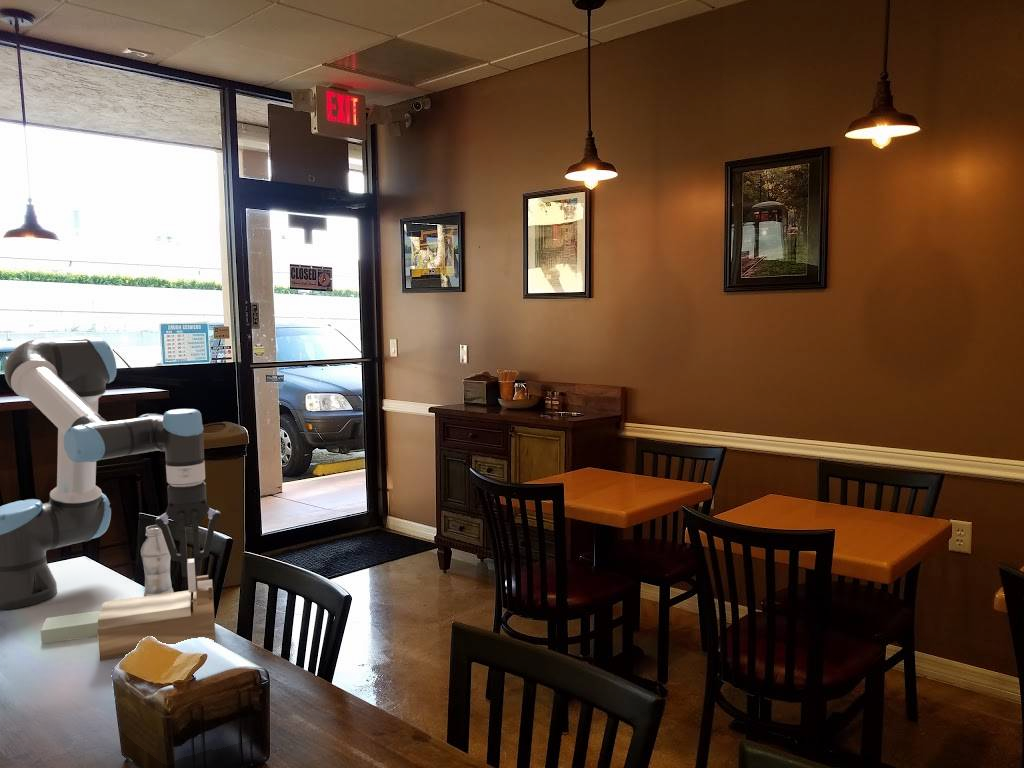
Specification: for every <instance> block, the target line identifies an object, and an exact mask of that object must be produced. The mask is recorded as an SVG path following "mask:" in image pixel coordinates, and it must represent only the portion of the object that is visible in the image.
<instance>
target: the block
mask: <svg viewBox="0 0 1024 768" xmlns="http://www.w3.org/2000/svg"><path fill="white" fill-rule="evenodd" d="M205 588H208V589H209V599H210V598H213V599H214V587H213V579H212V578H211V579H208V580H204V581H197V580H196V589H205Z"/></svg>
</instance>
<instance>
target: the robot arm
mask: <svg viewBox="0 0 1024 768" xmlns="http://www.w3.org/2000/svg"><path fill="white" fill-rule="evenodd" d="M107 342H108V341H105V340H104V339H103V338H100V337H97V336H92V337H90V336H84V335H83V336H74V337H60V338H35V339H32V340H28V341H26V342H24V343H22V344H19V346H17V347H16V348H14V349H13V350H12V351H11V353H10V354H9V355H8V356H7V359H6V361H5V365H4V373H3V374H4V377H5V378H4V379H5V381H6V383H7V385H8V386H9V388H10V389H11V390H12V391H14V393H15V394H16V395H18V396H20V397H21V398H24V399H28V400H30V402H31V403H32V404H33V405H34V406H35V407H36V408H37V409H38V410H40V412H41V413H42V414H43V415H44V416H46V418H47V419H48V420H49V421H50V422H51V423H53V425H54V426H55V427H56V428H57V469H56V471H57V472H56V473H57V474H56V477H57V478H56V486H55V487H54V488H53V489H52V490H50V492H49V501H48V502H44V503H43V502H42V501H41V500H40V499H36V498H29V499H24V500H16V501H14V502H9V503H7V504H3V505H1V506H0V610H1V611H2V610H14V609H20V608H25V607H29V606H33V605H37V604H39V603H43V602H46V601H47V600H49V599H51V598H53V597H54V596H56V594H57V592H58V588H57V587H58V585H57V581H56V579H55V577H54V575H53V573H52V571H51V569H50V566H49V564H48V562H47V551H49V550H55V549H58V548H63V547H67V546H71V545H73V544H78V543H82V542H83V543H84V542H88V541H91V540H92V539H96V538H97V539H98V538H99V537H101V536H102V535H104V534H105V533H106V532H107V531H108V528H109V526H110V522H111V518H112V517H111V516H112V508H111V507H110V504H111V502H110V500H109V498H108V497H107V495H106V494H105V493H103V492H102V489H101V488H100V487H99V486H98V485H96V483H97V481H96V478H97V477H96V476H97V462H98V461H101V460H103V461H104V460H108V459H114V458H118V457H119V458H120V457H123V456H124V457H125V456H131V455H138V454H144V453H149V452H155V451H160V452H164V454H165V473H166V483H168V485H167V487H166V488H167V490H166V491H167V507H166V509H165V512H164V513H162V514H161V515H157V517H156V519H155V525H158V526H159V527H160V529H161V530H162V533H163V536H164V539H165V542H166V544H167V547H168V550H169V553H170V556H171V559H170V560H171V561H172V562H180V567H181V576H182V577H183V578H185V577H187V586H188V589H187V591H188V590H189V593H190V592H191V593H193V592H196V589H197V579H196V577H197V576H201V574H202V567H201V566H202V562H201V561H202V560H203V559H204V558H208V557H209V556H210V552H211V546H212V542H213V537H214V532H215V529H216V524H217V522H218V520H219V519H220V517H221V511H220V510H218V509H213V508H211V507H210V504H209V503H208V500H207V487H206V486H207V485H206V484H207V483H206V482H205V479H206V466H205V465H206V464H205V448H204V447H205V445H204V425H203V418H202V413H201V412H200V410H198V409H195V408H176V409H175V408H174V409H170V410H168V411H167V410H166V411H165V412H164V413H163V414H159V413H145V414H141V415H139V416H138V417H134V418H129V419H120V420H113V421H112V420H111V421H107V420H106V419H105V418H103V417H102V416H101V415H100V414H99V398H101V397H102V396H103V395H104V394H105V393H106V389H107V388H106V386H107V385H106V384H110V383H112V382H114V380H115V378H116V377H117V371H118V370H117V361H116V357H115V355H114V352H113V350H112V348H111V347H110V345H109V343H107ZM207 514H208V515H207ZM206 516H207V518H208V520H209V521H208V526H207V530H206V535H205V541H204V544H203V550H201V547H200V529H199V528H200V527H199V524H200V523H202V521H203V520H204V518H205V517H206ZM169 519H170V520H171V521H172V522H173V523H174V524H175V525H176V526H178V533H179V550H180V551H179V552H180V553H178V550H177V547H176V544H175V541H174V538H173V536H172V533H171V530H170V527H169V525H168V524H169V522H170V520H169ZM189 526H191V530H192V545H193V558H188V546H187V543H188V542H187V527H189Z"/></svg>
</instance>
